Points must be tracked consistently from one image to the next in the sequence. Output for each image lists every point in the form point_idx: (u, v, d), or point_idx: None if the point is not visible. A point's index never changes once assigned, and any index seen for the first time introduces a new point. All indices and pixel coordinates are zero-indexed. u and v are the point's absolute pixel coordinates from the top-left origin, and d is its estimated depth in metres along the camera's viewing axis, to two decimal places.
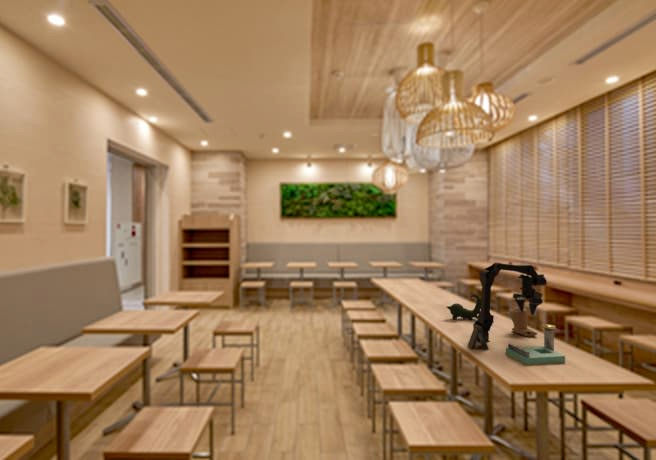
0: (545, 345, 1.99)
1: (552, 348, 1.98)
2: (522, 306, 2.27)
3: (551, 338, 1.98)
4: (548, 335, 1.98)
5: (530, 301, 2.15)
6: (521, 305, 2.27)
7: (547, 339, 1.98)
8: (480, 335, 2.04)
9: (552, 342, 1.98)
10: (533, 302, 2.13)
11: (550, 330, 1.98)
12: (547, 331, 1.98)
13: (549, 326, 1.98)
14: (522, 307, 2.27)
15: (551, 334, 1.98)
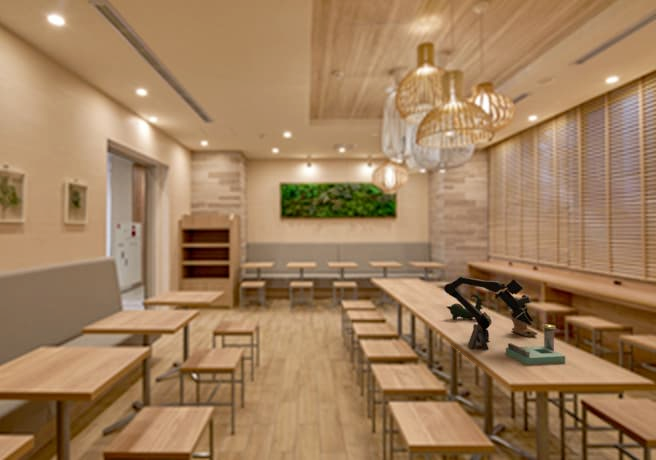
0: (545, 345, 1.99)
1: (552, 348, 1.98)
2: (528, 316, 2.09)
3: (551, 338, 1.98)
4: (548, 335, 1.98)
5: None
6: (526, 316, 2.10)
7: (547, 339, 1.98)
8: (480, 335, 2.04)
9: (552, 342, 1.98)
10: (514, 317, 2.01)
11: (550, 330, 1.98)
12: (547, 331, 1.98)
13: (549, 326, 1.98)
14: (529, 317, 2.09)
15: (551, 334, 1.98)
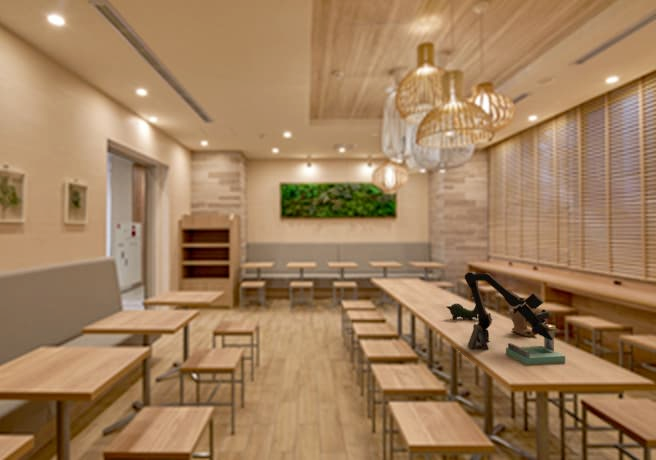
0: (545, 345, 1.99)
1: (552, 348, 1.98)
2: None
3: None
4: None
5: None
6: None
7: (547, 339, 1.98)
8: (480, 335, 2.04)
9: (552, 342, 1.98)
10: (534, 333, 1.95)
11: (550, 330, 1.98)
12: (547, 331, 1.98)
13: (549, 326, 1.98)
14: None
15: (551, 334, 1.98)
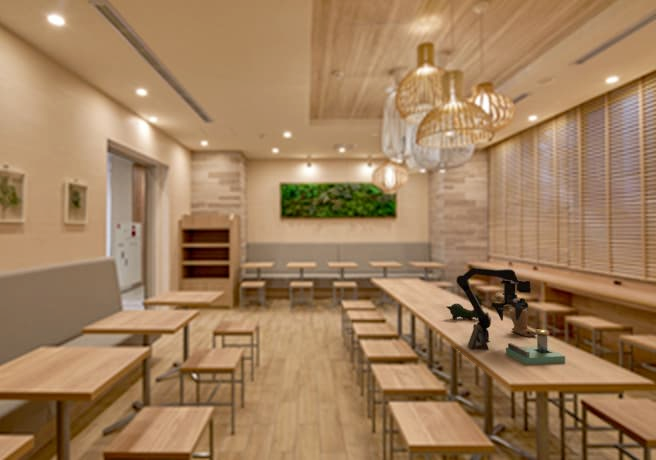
0: (537, 351, 1.90)
1: None
2: (517, 314, 2.12)
3: (542, 344, 1.88)
4: (539, 340, 1.89)
5: None
6: (517, 313, 2.13)
7: (538, 344, 1.89)
8: (480, 335, 2.04)
9: (544, 348, 1.87)
10: (491, 305, 2.13)
11: (541, 335, 1.88)
12: (539, 336, 1.89)
13: (541, 331, 1.88)
14: (517, 315, 2.12)
15: (542, 340, 1.88)
